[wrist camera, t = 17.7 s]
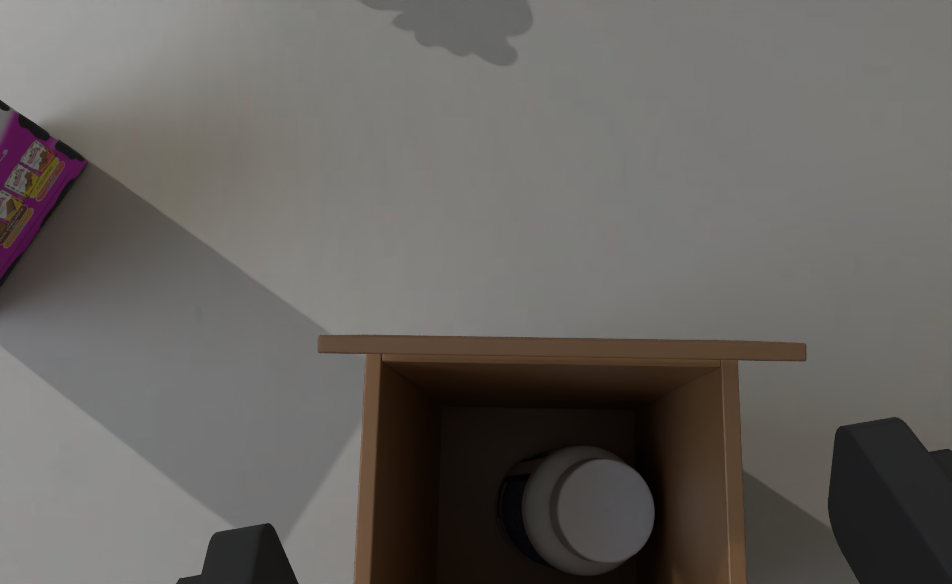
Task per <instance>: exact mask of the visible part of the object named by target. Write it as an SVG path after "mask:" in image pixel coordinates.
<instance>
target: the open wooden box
mask: <svg viewBox="0 0 952 584" xmlns="http://www.w3.org/2000/svg"><path fill="white" fill-rule="evenodd" d="M574 445H590V446H596V447H600V448H603V449H605V450H608V451H610V452H612V453H614V454H615V455H617V456H618V457H620V458H621V459H622V460H623V461H624V462H626V464H627V465H629V466H630V467H632V468H633V469H634V470H636V471H637V472H638V473H639V474H640V475H641V477H642V478H643V479H644V480H645V482H646V483H647V485H648V487H649V489H650V492H651V494H652V497H653V501H654V507H655V518H654V525H653V529H652V532H651V534H650V536H649V538H648V540H647V542H646V543H645V545H644V546H643V547H642V548H641V550H639V551H638V552H637V553H636V554H635V555H633V556H632V557H630V558H628V559H627V560H626V561H625V562H624V563H623V564H622V565H620V566H619V567H617V568H616V569H614V570H612V571H610V572H607V573H604V574H600V575H594V576H580V575H572V574H569V573H565V572H563V571H560V570H557V569H554V568H550V567H547V566H544V565H540V564H537V563H534V562H532V561H530V560H528V559H526V558H524V557H522V556H520V555H519V554H518V553H516V552H515V551H514V550H513V549H512V548H511V547H510V546H509V545H508V543H507V542H506V540H505V539H504V537H503V536H502V534H501V532H500V529H499V527H498V524H497V520H496V514H495V502H496V496H497V492H498V489H499V486H500V484H501V482H502V480H503V479H504V477H505V475H506V474H507V473H508V472H509V470H510V469H511V468H512V467H513V466H514V465H516V464H517V463H518V462H520V461H521V460H523V459H525V458H527V457H530V456H532V455H535V454H539V453H543V452H547V451H551V450H555V449H560V448H564V447H568V446H574ZM354 584H747V569H746V545H745V521H744V497H743V473H742V449H741V425H740V401H739V377H738V360H695V359H636V358H578V357H520V356H462V355H403V354H366V358H365V377H364V396H363V415H362V434H361V453H360V472H359V491H358V510H357V529H356V548H355V567H354Z"/></svg>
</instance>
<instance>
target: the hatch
mask: <svg viewBox="0 0 952 584" xmlns="http://www.w3.org/2000/svg"><path fill="white" fill-rule="evenodd" d="M318 353H345V354H403V355H462V356H520V357H578V358H636V359H695V360H753V361H806V344H805V343H787V342H761V341H727V340H663V339H600V338H536V337H473V336H410V335H320V336H318Z"/></svg>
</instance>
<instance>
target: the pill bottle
mask: <svg viewBox="0 0 952 584" xmlns="http://www.w3.org/2000/svg"><path fill="white" fill-rule="evenodd" d="M495 514H496V520H497V524H498V527H499V529H500V532H501V534H502V536H503V537H504V539H505V540H506V542H507V543H508V545H509V546H510V547H511V548H512V549H513V550H514V551H515V552H516V553H518V554H519V555H520V556H522V557H524V558H526V559H528V560H530V561H532V562H534V563H537V564H540V565H544V566H547V567H550V568H554V569H557V570H560V571H563V572H565V573H569V574H572V575H580V576H594V575H600V574H604V573H607V572H610V571H612V570H614V569H616V568H617V567H619V566H620V565H622V564H623V563H624V562H625V561H626V560H627V559H628V558H630V557H632V556H633V555H635V554H636V553H637V552H638V551H639V550H641V548H642V547H643V546H644V545H645V543H646V542H647V540H648V538H649V536H650V534H651V532H652V529H653V525H654V518H655V507H654V501H653V497H652V494H651V492H650V489H649V487H648V485H647V483H646V482H645V480H644V479H643V478H642V477H641V475H640V474H639V473H638V472H637V471H636V470H634V469H633V468H632V467H630V466H629V465H627V464H626V462H624V461H623V460H622V459H621V458H620V457H618V456H617V455H615V454H614V453H612V452H610V451H608V450H605V449H603V448H600V447H596V446H590V445H574V446H568V447H564V448H560V449H555V450H551V451H547V452H543V453H539V454H535V455H532V456H530V457H527V458H525V459H523V460H521V461H520V462H518V463H517V464H516V465H514V466H513V467H512V468H511V469H510V470H509V472H508V473H507V474H506V475H505V477H504V479H503V480H502V482H501V484H500V486H499V489H498V492H497V496H496V502H495Z"/></svg>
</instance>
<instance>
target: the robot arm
mask: <svg viewBox="0 0 952 584" xmlns="http://www.w3.org/2000/svg"><path fill="white" fill-rule="evenodd" d="M828 511H829V518H830V523H831V526H832V530H833V533H834V536H835V538H836V541H837V543H838V545H839V547H840V549H841V551H842V553H843V555H844V556H845V558H846V560H847V562H848V564H849V565H850V567H851V569H852V571H853V572H854V574H855V576H856V578H857V579H858V581H859V583H860V584H952V451H951V450H949V449H944V450H938V451H932V452H928V451H927V450H926V448H925V447H924V446H923V444H922V443H921V442H920V441H919V439H918V438H917V437H916V435H915V434H914V433H913V432H912V430H911V429H910V428H909V426H908V425H907V424H906V423H905V422H904V421H903V420H901V419H899V418H897V417H892V418H886V419H880V420H874V421H869V422H863V423H857V424H851V425H846V426H840V427H839V428H838V429H837V431H836V434H835V441H834V450H833V459H832V469H831V478H830V487H829V497H828ZM176 584H298V581H297V579H296V577H295V574H294V572H293V570H292V568H291V565H290V563H289V561H288V558H287V556H286V554H285V551H284V549H283V547H282V544H281V542H280V540H279V538H278V535H277V533H276V531H275V529H274V527H273V526H272V525H271V524H269V523H267V524H261V525H255V526H249V527H244V528H238V529H232V530H226V531H220V532H216V533H215V534H214V535H213V536H212V537H211V540H210V542H209V545H208V549H207V553H206V557H205V561H204V566H203V570H202V574H201V575H197V576H191V577H186V578H180V579H179V580H178V582H177V583H176Z"/></svg>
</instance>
